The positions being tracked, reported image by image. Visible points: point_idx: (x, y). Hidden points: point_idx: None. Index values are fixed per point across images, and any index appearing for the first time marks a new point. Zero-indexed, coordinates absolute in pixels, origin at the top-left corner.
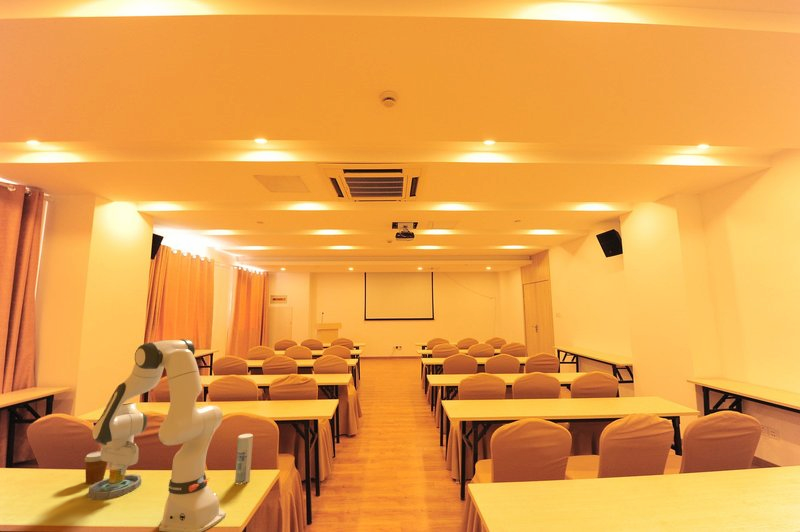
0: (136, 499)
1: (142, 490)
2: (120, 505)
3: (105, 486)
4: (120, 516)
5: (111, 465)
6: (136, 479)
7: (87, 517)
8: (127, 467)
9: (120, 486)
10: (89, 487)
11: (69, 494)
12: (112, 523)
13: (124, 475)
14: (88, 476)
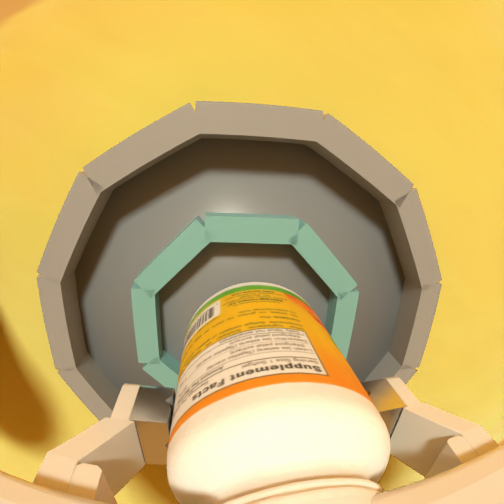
0: (495, 336)
1: (466, 252)
2: (463, 398)
3: (172, 366)
4: (500, 419)
5: (110, 477)
6: (295, 142)
7: (401, 482)
8: (453, 415)
9: (333, 338)
10: None
11: (43, 427)
12: (496, 440)
13: (319, 323)
14: None
